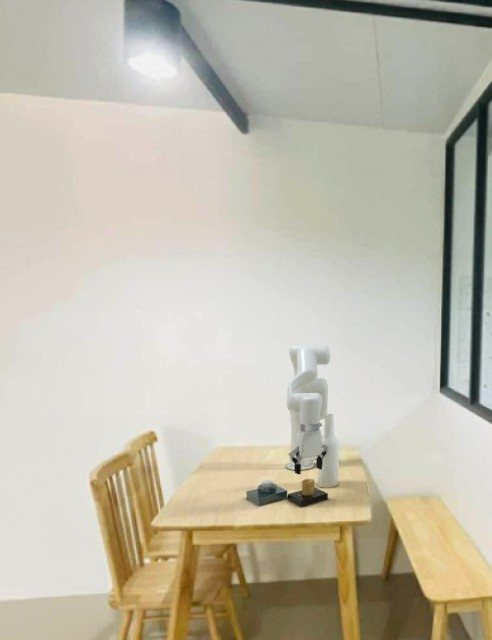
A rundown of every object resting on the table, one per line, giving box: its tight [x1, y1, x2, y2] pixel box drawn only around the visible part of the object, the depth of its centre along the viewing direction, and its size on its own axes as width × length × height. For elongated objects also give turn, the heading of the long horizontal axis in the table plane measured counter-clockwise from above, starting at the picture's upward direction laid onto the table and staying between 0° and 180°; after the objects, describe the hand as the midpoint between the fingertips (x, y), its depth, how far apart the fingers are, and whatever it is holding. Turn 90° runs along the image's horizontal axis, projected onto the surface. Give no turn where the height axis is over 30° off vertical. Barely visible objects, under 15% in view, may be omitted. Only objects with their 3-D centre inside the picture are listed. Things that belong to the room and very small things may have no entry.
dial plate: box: [287, 486, 329, 508], centre depth 198 cm, size 12×10×3 cm
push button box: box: [246, 482, 288, 507], centre depth 199 cm, size 12×10×5 cm
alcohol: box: [316, 413, 340, 489], centre depth 217 cm, size 9×9×30 cm
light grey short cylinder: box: [261, 479, 274, 488], centre depth 199 cm, size 4×4×2 cm
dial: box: [301, 478, 316, 496], centre depth 198 cm, size 5×5×5 cm
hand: (308, 471), depth 198 cm, fingers open, 9 cm apart
